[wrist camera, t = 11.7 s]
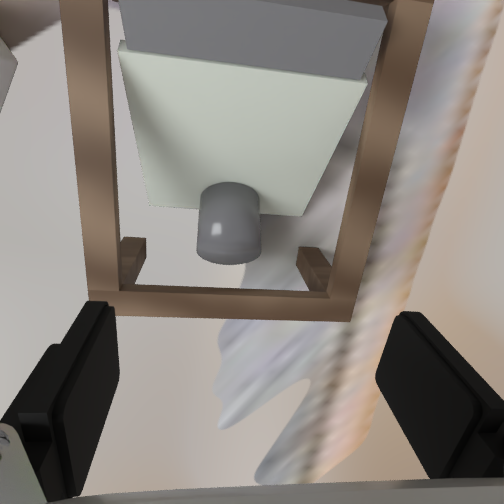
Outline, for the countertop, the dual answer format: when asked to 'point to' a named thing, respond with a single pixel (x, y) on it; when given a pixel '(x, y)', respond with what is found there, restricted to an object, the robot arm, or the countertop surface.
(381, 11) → the trapdoor
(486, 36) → the countertop surface
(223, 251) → the metal canister
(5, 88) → the jar
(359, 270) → the trapdoor frame
